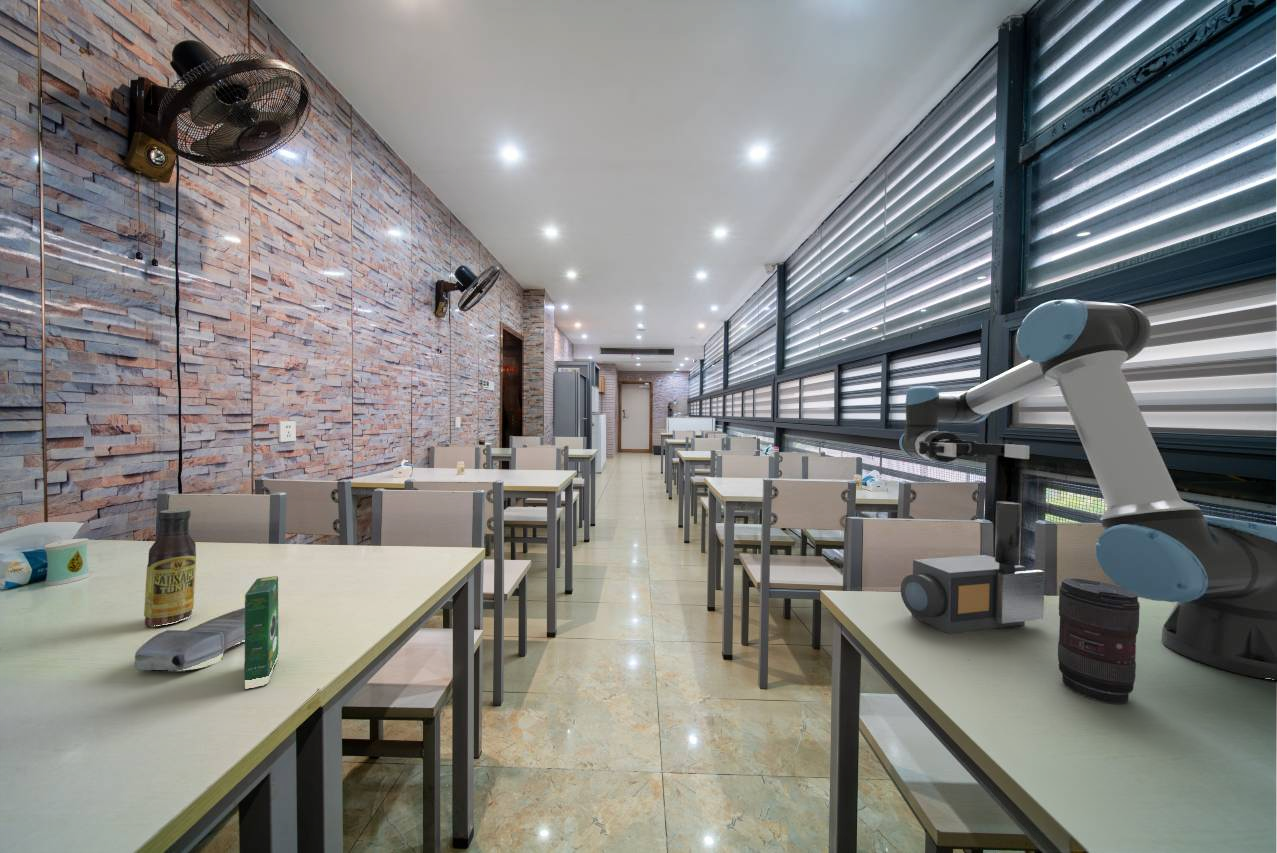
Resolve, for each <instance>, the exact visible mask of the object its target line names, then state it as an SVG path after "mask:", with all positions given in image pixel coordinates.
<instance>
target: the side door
mask: <svg viewBox="0 0 1277 853" xmlns="http://www.w3.org/2000/svg"><path fill="white" fill-rule="evenodd" d="M995 504H996V506H995V507H996V508H995V533H994V534H995V537H994V538H995V541H994V542H995V543H994V544H995V546H994V558H995V561H996V562H998V563H999V573H998V582H997V618H996V621H997V622H999V623H1002V624H1003V623H1012V622H1021V621H1025V622H1026V621H1027V622H1029V621H1036V620H1037V621H1038V620H1043V619H1044V613H1045V612H1044V610H1045V609H1044V608H1045V606H1044V604H1045V603H1044V602H1045V576H1046V575H1045V574H1046V572H1045V571H1044V570H1042V569H1031V570H1030V569H1029V570H1028V569H1027V570H1026V571H1015V566H1017V565H1021V533H1022V532H1021V531H1022V503H1019V502H1013V501H1005V500H1003V501H997V500H996V503H995Z"/></svg>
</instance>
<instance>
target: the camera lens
mask: <svg viewBox="0 0 1277 853" xmlns="http://www.w3.org/2000/svg"><path fill="white" fill-rule="evenodd" d="M1058 591H1059V594H1058V596H1059V597H1058V610H1059V611H1058V615H1059V630H1058V634H1059V635H1058V642H1057V660H1058V670H1059V671H1060V672H1061V674H1062V676H1061V677H1062V682H1063V685H1065V687H1067V688H1068V687H1069V688H1068V689H1070V690H1071V689H1072V690H1071V691H1072V692H1074V691H1075V692H1074V693H1076V692H1078V693H1080V694H1079V695H1081V694H1082V695H1081V696H1083V695H1084V696H1083V697H1085V696H1086V698H1088V697H1089V698H1088V699H1091V698H1092V699H1091V700H1094V699H1095V700H1094V701H1097V700H1098V701H1097V702H1101V701H1102V702H1101V703H1106V704H1114V705H1120V704H1126V703H1128V701H1129V697H1130V693H1132V692H1133V691H1134V685H1135V681H1136V671H1137V663H1136V657H1137V656H1136V655H1137V654H1136V653H1137V651H1136V650H1137V645H1136V643H1137V635H1138V633H1139V627H1140V606H1141V605H1140V602H1139V597H1138V595H1137V594H1136V593H1134V592H1132V591H1130V590H1128V589H1125V588H1122V587H1119V586H1118V585H1115V584H1110V583H1107V582H1101V581H1096V580H1089V579H1083V578H1081V579H1080V578H1073V577H1072V578H1064V579H1062V580H1061V585H1060V586H1059V590H1058ZM1078 693H1077V694H1078Z"/></svg>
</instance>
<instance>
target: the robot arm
mask: <svg viewBox="0 0 1277 853" xmlns="http://www.w3.org/2000/svg"><path fill="white" fill-rule="evenodd" d="M1151 335H1152V324H1151V322H1150V320H1149V318H1148V316H1147V315H1146V314H1145V313H1144V312H1143V311H1142V310H1140V309H1138V308H1136V307H1135V306H1132V305H1129V304H1125V303H1119V302H1101V301H1089V300H1080V299H1076V298H1075V299H1074V298H1069V299H1056V300H1055V299H1054V300H1050V301H1047V302H1044V303H1041V304H1039V305H1038V306H1037V307H1035V308H1034V309H1033V310H1030V312H1029V313H1027V315H1026V316H1025V317H1024V319H1023V320H1022V323H1021V325H1020V327H1018V329H1017V333H1016V338H1015V339H1016V340H1015V342H1016V348H1017V352H1018V353H1019V354H1020V355H1021V357H1023V358H1024V359H1026V360H1027V361H1025V362H1022V363H1021V364H1019V365H1017V366H1015V367H1012V368H1011V369H1009V370H1006V371H1004V372H1003V373H1001V374H999V375H996V376H994V377H993V378H990V379H989V380H987V381H985V382H982V383H981V384H978V385H976V386H974V387H972V388H970V389H969V390H966V391H964V392H962V393H959V394H944V393H943V394H941V393H940V390H939V388H938V387H937V386H932V385H931V386H928V385H926V386H925V385H924V386H911V387H909V388H908V389H907V390H906V394H905V395H906V396H905V428H904V433H902V435H901V436H900V438H899V442H898V444H899V448H900V451H902V452H903V454H905V455H907V456H908V457H912V458H915V459H922V460H929V461H930V463H932V464H933V463H935V462H940V463H951V462H954V461H955V460H957V459H958V458H960V457H965V456H968V457H976V456H978V455H987V456H988V455H989V456H1003V457H1004V458H1005V457H1006V458H1013V459H1022V460H1029V459H1030V448H1031V447H1030V445H1027V444H1026V445H1025V444H1014V441H1008V442H1007V443H1006V444H1005V443H986V442H985V443H984V442H983V443H982V442H977V441H976V440H964V439H960V437H959V436H958V435H957V434H955V433H953V432H951V431H943V430H942V431H939V428H938V427H939V423H964V424H973V423H981V422H982V421H985V420H986V419H987V418H988V417H989V416H990V414H991V412H995V411H997V410H999V409H1002V408H1004V407H1006V406H1009V405H1012V404H1014V403H1016V402H1019V401H1021V400H1023V399H1026V398H1029V397H1031V396H1033V395H1035V394H1037V393H1040V392H1043V391H1045V390H1047V389H1050V388H1052V387H1055V386H1057V385H1058V387H1059V389H1060V392H1061V394H1062V397H1063V400H1064V402H1065V405H1066V407H1067V410H1068V412H1069V414H1070V418H1071V419H1072V423H1073V425H1074V428H1075V429H1076V432H1077V434H1078V437H1079V439H1080V442H1081V444H1082V445H1081V446H1083V449H1084V452H1085V454H1086V456H1087V460H1088V462H1089V465H1090V467H1091V469H1092V472H1093V475H1094V477H1095V480H1096V481H1097V485H1098V486H1099V490H1100V491H1101V494H1102V497H1103V499H1104V502H1105V504H1106V511H1104V513H1103V514H1102V515H1101V516H1100V518H1099V522H1100V524H1101V526H1102V529H1103V532H1102V533H1101V534H1100V535H1099V536H1098V542H1095V546H1094V553H1095V554H1094V555H1095V558H1096V561H1097V563H1098V565H1099V567H1100V569H1101V570H1102V572H1103V574H1105V575H1106V577H1108V579H1109V580H1110V581H1111V582H1113V583H1114V585H1115V584H1116V585H1115V586H1119V587H1122V588H1125V589H1128V590H1130V591H1132V592H1134V593H1136V594H1137V595H1138V598H1141V599H1145V600H1151V601H1154V602H1155V601H1156V602H1168V603H1175V605H1174V607H1173V608H1172V610H1171V611H1170V614H1169V615H1168V617H1167V619H1166V620H1165V622H1164V624H1163V626H1162V628H1161V642H1162V644H1164V645H1165V646H1166V647H1167V648H1168V649H1171V651H1173V652H1176V653H1178V654H1180V655H1182V656H1184V657H1187V658H1189V659H1191V660H1194V661H1197V662H1199V663H1202V664H1206V665H1208V666H1212V667H1214V668H1218V669H1221V670H1224V671H1227V672H1233V673H1236V674H1239V675H1244V676H1247V677H1248V676H1249V677H1252V678H1257V679H1261V678H1271V679H1274V680H1277V525H1273V524H1268V523H1267V524H1266V523H1260V522H1254V521H1247V520H1240V519H1235V518H1234V519H1233V518H1226V517H1221V516H1220V517H1218V516H1213V515H1205V514H1203V512H1202V509H1201V508H1200V507H1198V506H1197V505H1194V504H1192V503H1190V502H1187V501H1184V500H1183V499H1182V498H1181V496H1180V494H1179V492H1178V490H1177V488H1176V486H1175V483H1174V481H1173V479H1172V477H1171V475H1170V473H1169V470H1168V468H1167V466H1166V464H1165V462H1164V460H1163V457H1162V455H1161V452H1160V451H1159V449H1158V447H1157V445H1156V442H1155V439H1154V437H1153V436H1152V433H1151V432H1150V429H1149V427H1148V425H1147V423H1146V420H1145V418H1144V416H1143V414H1142V412H1141V409H1140V407H1139V405H1138V403H1137V400H1136V399H1135V397H1134V394H1133V392H1132V389H1131V388H1130V386H1129V383H1128V381H1127V379H1126V377H1125V374H1124V373H1123V372H1124V371H1123V370H1122V368H1121V367H1122V366H1123V364H1124V363H1125V362H1127V361H1130V360H1132V359H1133V358H1134V357H1135V356H1137V355H1138V354H1140V353H1141V352H1142V351H1143V350H1144V349H1145V347H1147V344H1148V343H1149V341H1150V339H1151Z"/></svg>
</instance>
